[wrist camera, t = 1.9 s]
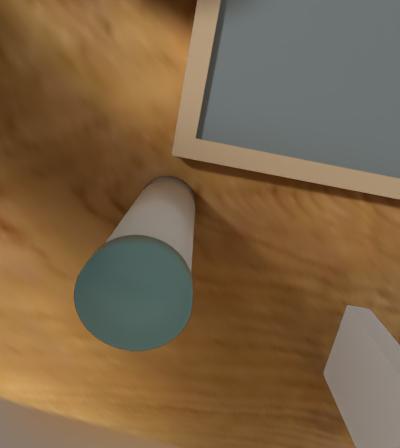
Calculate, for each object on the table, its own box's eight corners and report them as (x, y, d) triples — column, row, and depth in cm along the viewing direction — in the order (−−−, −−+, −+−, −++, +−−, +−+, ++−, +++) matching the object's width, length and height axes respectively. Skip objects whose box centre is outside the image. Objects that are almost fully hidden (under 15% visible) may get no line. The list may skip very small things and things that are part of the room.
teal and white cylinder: (135, 225, 24) (69, 341, 12) (143, 169, 23) (79, 235, 11) (191, 235, 24) (181, 359, 12) (202, 180, 23) (202, 257, 11)
